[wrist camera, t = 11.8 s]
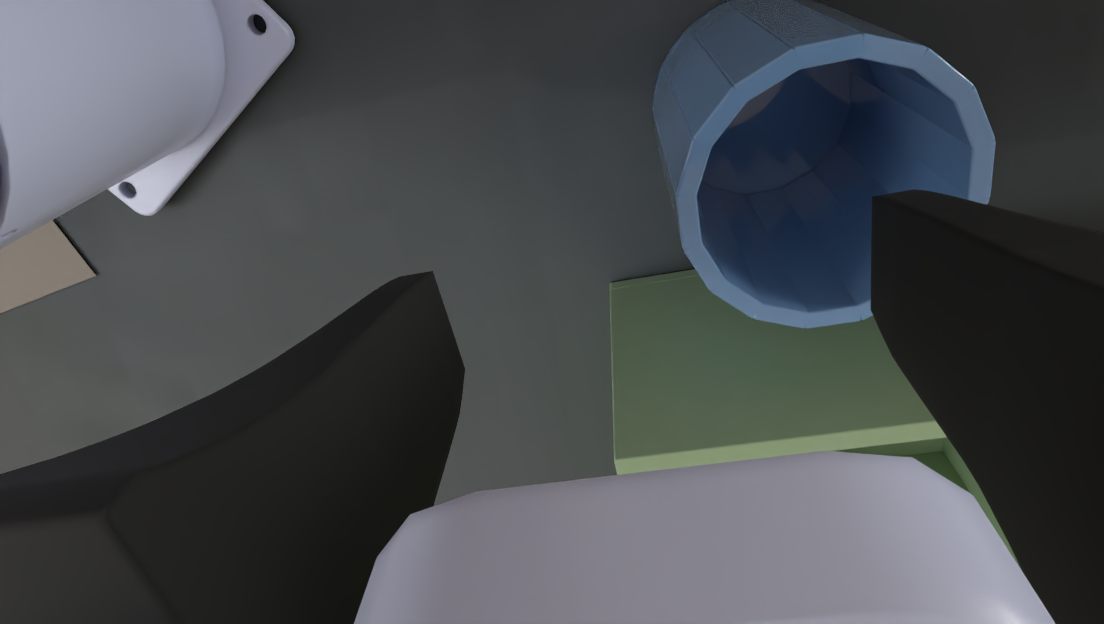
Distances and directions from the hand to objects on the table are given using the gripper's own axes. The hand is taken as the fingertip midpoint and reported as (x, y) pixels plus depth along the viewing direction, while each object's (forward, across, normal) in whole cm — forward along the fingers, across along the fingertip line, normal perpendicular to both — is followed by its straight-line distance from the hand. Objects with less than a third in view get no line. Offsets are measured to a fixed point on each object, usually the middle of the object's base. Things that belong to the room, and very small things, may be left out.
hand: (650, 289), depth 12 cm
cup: (+10, -4, 0) cm, 11 cm away
